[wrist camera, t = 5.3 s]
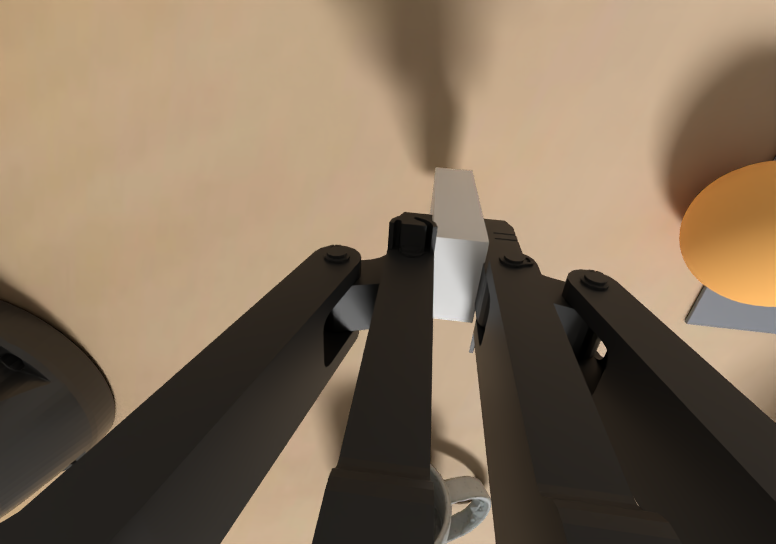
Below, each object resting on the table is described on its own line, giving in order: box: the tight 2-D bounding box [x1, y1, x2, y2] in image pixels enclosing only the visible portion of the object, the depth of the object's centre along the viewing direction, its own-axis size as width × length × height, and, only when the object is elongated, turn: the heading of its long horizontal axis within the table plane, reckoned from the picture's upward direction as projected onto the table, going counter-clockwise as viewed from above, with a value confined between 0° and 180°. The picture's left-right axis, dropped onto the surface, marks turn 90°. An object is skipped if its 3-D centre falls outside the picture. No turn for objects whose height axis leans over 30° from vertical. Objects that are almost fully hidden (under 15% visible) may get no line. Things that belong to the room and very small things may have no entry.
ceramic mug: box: [430, 464, 491, 544], centre depth 28 cm, size 11×8×8 cm
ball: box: [679, 161, 776, 307], centre depth 16 cm, size 6×6×6 cm
